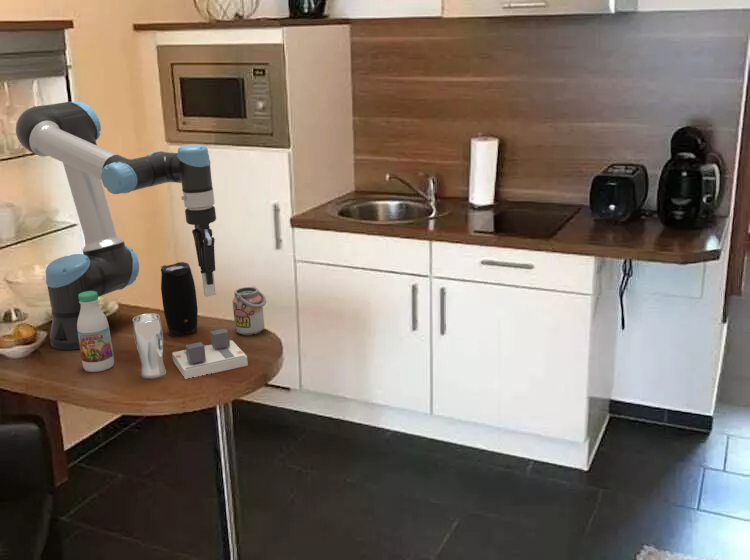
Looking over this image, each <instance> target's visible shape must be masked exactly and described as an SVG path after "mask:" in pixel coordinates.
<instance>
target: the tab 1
mask: <svg viewBox="0 0 750 560" xmlns="http://www.w3.org/2000/svg"><path fill="white" fill-rule="evenodd" d="M204 346H205V344H203V342H202V341H199V342H195V343H190V344H189V343H188V344H185V346H184V347H185V350H186V355H187V361H188V362H189V363H190V364H193V363H197V362H202V361H206V357H205V348H204Z"/></svg>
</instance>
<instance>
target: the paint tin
mask: <svg viewBox="0 0 750 560" xmlns="http://www.w3.org/2000/svg"><path fill="white" fill-rule="evenodd" d="M266 304H267V299H266V296H265V295H264V294H263V293H262V292H261V291H259V289H258V288H257V287H256V286H254V285H253V286H245V287H240V288H237V289H236V290H234V297H233V298H232V309H233V311H232V312H233V319H234V328H235V331H236V333H237V334H239V335H240V334H242V335H241V336H251V335H250V334H255V333H258V334H260V333H262V332H263V331H264V330H265V329H264V328H265V318H264V316H265V315H264V308H263V307H264V306H265V305H266ZM262 330H263V331H262ZM261 331H262V332H261ZM259 332H260V333H259ZM255 335H256V334H255Z"/></svg>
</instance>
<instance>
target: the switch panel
mask: <svg viewBox="0 0 750 560" xmlns="http://www.w3.org/2000/svg"><path fill="white" fill-rule="evenodd" d="M229 341H230V346H229V347H225V348H220V349H214V348H213V347H212V343H211V344H208V345H207V344H206V345H204V348H205V357H206V361H202V362H197V363H193V364H190V363H189V362H188V361H187V355H186V349H182V350H179V351H178V350H177V351H173V352H172V353H171V354H172V356H171V357H172V362H173V364H175V366H176V368H177V370H178V371H179V372H180V374H181V375H182V376H184V377H183V378H184V379H185V380H188V378H190V379H193V378H192V377H194V378H198V376H199V377H203V376H207V375H206V374H208V375H211V373H212V374H215V373H221V372H226V371H229V370H233V369H239V368H243V367H248V366H249V363H248V361H249V360H248V356H247V354H246V353H245V352H244V351H243V350H242V349H241V348H240V347H239V346H238V344H236V343H235V342H234V340H233V339H232V340H231V339H229ZM202 375H203V376H202Z"/></svg>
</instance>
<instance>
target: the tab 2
mask: <svg viewBox="0 0 750 560" xmlns="http://www.w3.org/2000/svg"><path fill="white" fill-rule="evenodd" d="M209 333H210V342H211V344H212V347H213V348H214V349H220V348H225V347H229V346H230V333H229V331H228V330H227V329H226V328H221V329H216V330H210V331H209Z"/></svg>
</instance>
